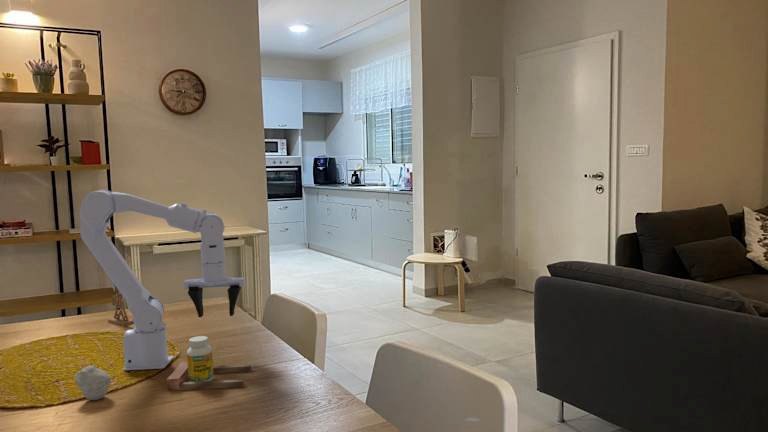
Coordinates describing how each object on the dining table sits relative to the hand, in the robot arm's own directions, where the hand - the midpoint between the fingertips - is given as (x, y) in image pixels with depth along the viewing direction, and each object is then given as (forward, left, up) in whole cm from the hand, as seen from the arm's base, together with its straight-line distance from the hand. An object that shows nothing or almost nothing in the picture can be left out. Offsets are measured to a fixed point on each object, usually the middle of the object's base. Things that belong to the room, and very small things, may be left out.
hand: (216, 315), depth 144 cm
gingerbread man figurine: (-38, +36, -11) cm, 53 cm away
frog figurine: (-20, -24, -11) cm, 33 cm away
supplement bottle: (0, -16, -11) cm, 19 cm away
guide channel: (+2, -16, -10) cm, 19 cm away
